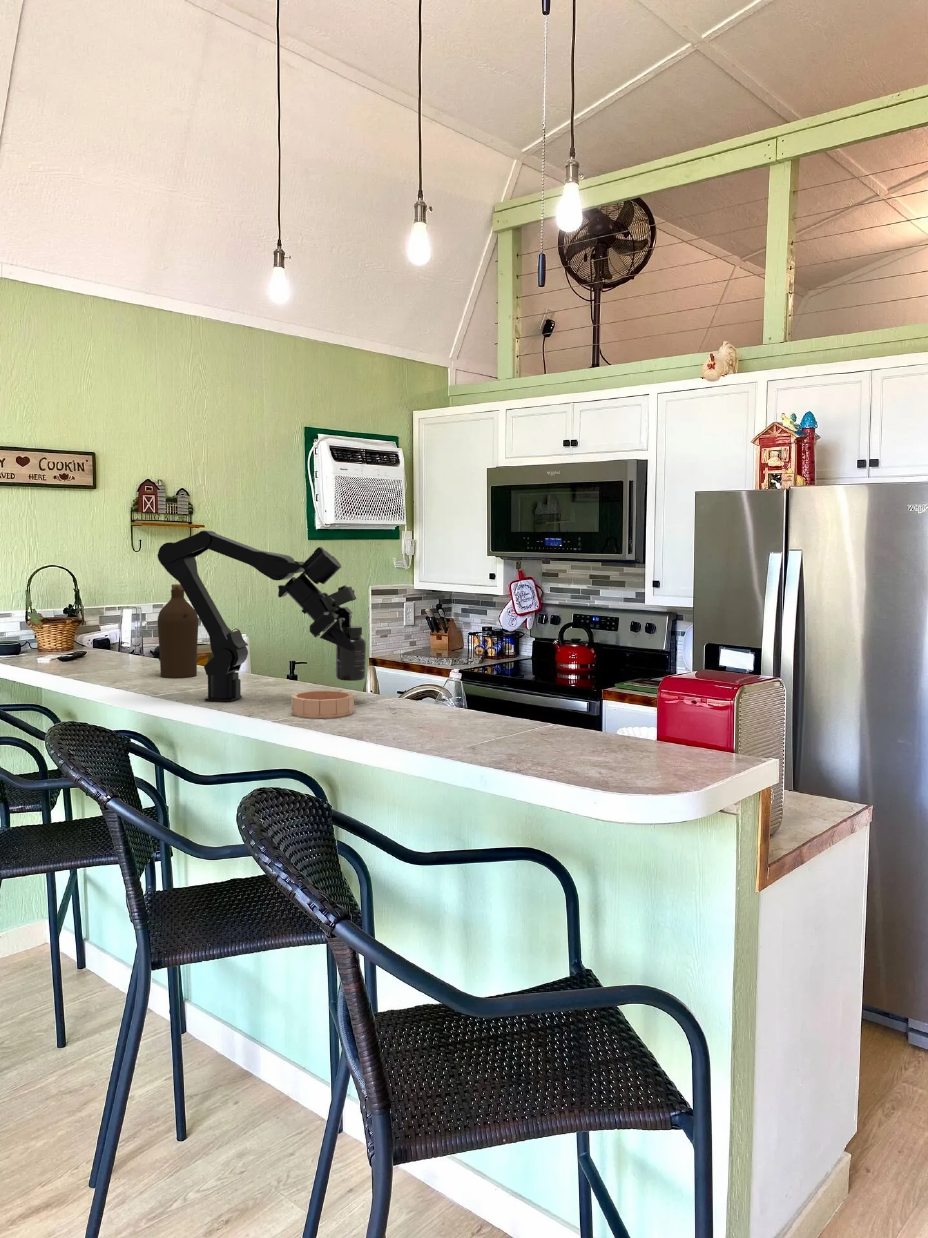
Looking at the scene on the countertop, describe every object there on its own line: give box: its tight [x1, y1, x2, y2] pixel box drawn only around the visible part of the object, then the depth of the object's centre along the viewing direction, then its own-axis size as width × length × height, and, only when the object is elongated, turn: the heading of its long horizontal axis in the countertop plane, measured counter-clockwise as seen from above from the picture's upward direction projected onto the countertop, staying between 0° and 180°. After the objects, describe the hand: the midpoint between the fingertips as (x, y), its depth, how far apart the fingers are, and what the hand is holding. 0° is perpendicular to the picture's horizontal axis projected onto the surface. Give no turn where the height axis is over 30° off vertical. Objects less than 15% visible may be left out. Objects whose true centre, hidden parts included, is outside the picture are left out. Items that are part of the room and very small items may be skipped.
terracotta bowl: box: [290, 689, 355, 719], centre depth 194 cm, size 13×13×4 cm
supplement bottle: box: [335, 625, 367, 682], centre depth 205 cm, size 7×7×12 cm
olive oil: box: [157, 583, 199, 679], centre depth 245 cm, size 11×11×25 cm
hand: (356, 648), depth 205 cm, fingers closed on supplement bottle, 7 cm apart
